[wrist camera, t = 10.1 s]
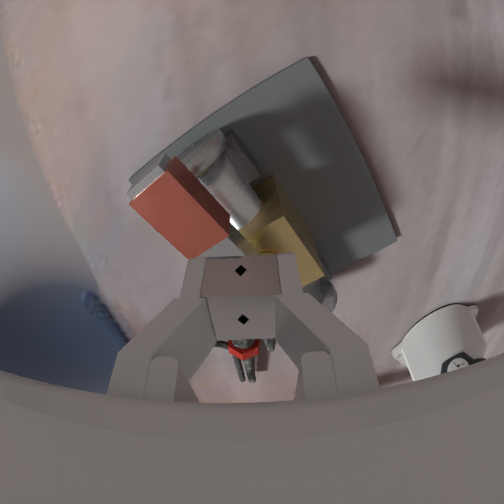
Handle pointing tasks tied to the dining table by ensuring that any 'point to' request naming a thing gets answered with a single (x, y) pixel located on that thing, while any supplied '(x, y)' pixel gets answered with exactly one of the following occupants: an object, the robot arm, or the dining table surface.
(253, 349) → the valve
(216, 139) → the pipe valve
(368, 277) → the dining table surface
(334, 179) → the mat
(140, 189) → the lever
